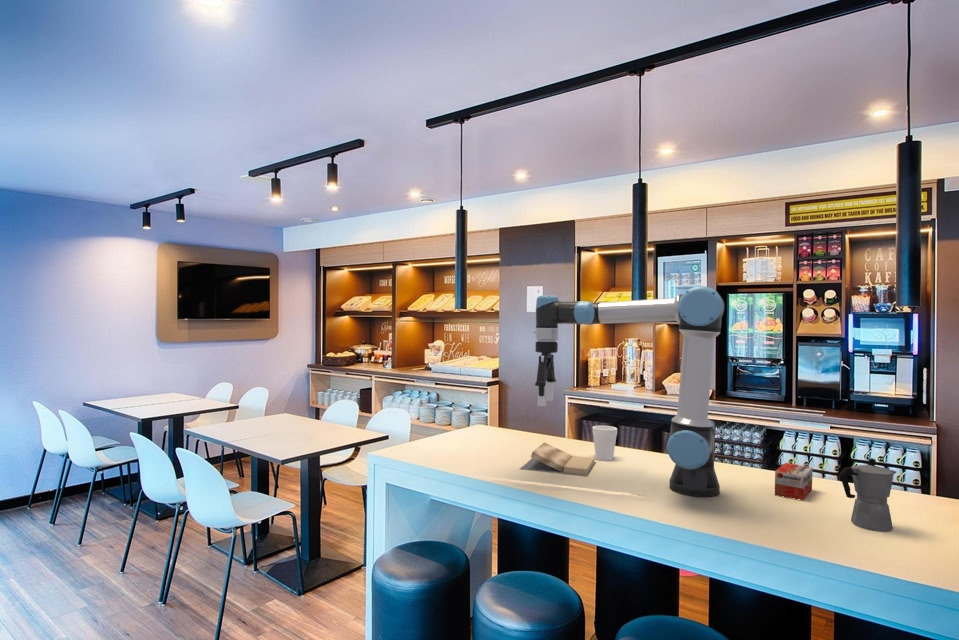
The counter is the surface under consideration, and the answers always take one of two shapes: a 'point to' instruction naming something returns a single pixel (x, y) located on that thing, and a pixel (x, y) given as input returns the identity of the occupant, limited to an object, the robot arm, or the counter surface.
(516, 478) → the counter surface
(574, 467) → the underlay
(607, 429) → the foam cup
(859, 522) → the coffeepot
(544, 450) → the plank
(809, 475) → the medicine box
